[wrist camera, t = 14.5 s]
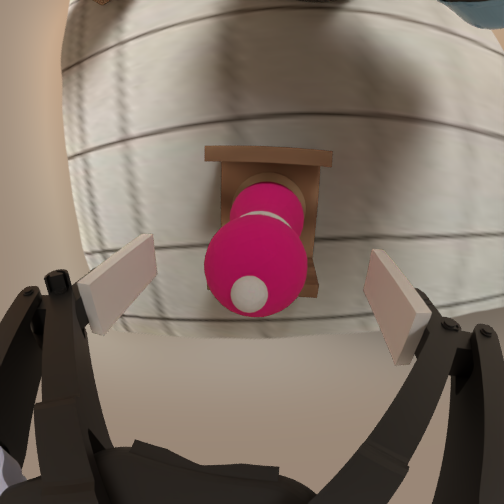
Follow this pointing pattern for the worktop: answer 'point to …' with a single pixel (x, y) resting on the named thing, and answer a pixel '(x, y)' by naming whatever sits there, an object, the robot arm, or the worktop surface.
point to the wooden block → (101, 1)
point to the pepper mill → (259, 252)
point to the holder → (279, 171)
